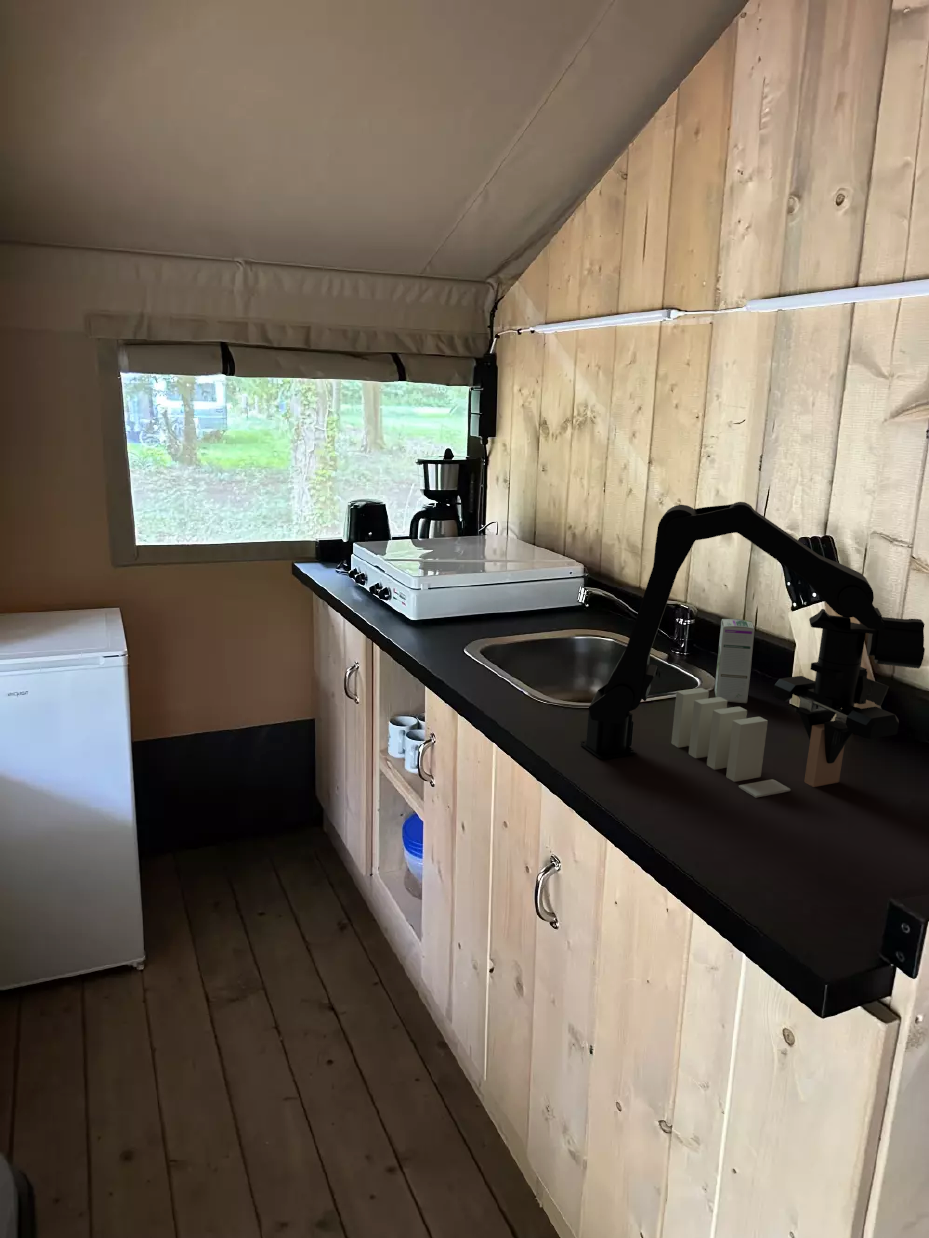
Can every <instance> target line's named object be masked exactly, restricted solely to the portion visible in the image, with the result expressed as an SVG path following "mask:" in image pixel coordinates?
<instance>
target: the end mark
mask: <svg viewBox="0 0 929 1238" xmlns="http://www.w3.org/2000/svg"><path fill="white" fill-rule="evenodd" d="M738 788H739V789H740V790H742V791H744V792H746V793H747V794H748V795H750V796H752V797H754V798H760V797H766V796H771V795H772V796H773V795H777V794H782V793H787V792H791V788H790V787H788V786H786V785H784V784H783V783H781V782H779V781H777V780H775V779H773V778H772V779H766V780H761V781H756V782H749V783H745V784H740V785H739V784H738Z"/></svg>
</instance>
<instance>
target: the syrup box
mask: <svg viewBox="0 0 929 1238" xmlns="http://www.w3.org/2000/svg"><path fill="white" fill-rule="evenodd" d="M719 632H720V633H719V642H718V654H717V663H716V674H715V683H714V694H715V697H721V698H723V699H725V700H727V703H739V704H740V703H741V704H747V703H748V698H749V697H748V695H749V690H750V689H749V688H750V681H751V680H750V679H751V671H752V670H751V669H752V661H753V660H752V659H753V649H754V638H755V632H756V631H755V627H754V625H753V621H752V620H747V619H738V618H737V619H736V618H722V619H721V621H720V631H719Z"/></svg>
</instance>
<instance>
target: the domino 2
mask: <svg viewBox="0 0 929 1238" xmlns="http://www.w3.org/2000/svg"><path fill="white" fill-rule="evenodd" d="M724 708H728V702H727V700H725V699H723V698H721V697H716V696H715V697H710V698H709V697H708V699H701V700H694V707H693V717H692V726H691V736H690V745H689V746H688V755H690V756H691V757H693V758H694V759H700V758H708V750H709V741H710V732H711V723H712V715H713V710H717V709H724Z"/></svg>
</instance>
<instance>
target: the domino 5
mask: <svg viewBox="0 0 929 1238" xmlns="http://www.w3.org/2000/svg"><path fill="white" fill-rule="evenodd" d="M844 751H845V746H844V747H843V748H842V750H841V752H840V753H839V755H838V757H837V758H836V760H835V762H834V763H830V764H829V763H827V761H826V754H825V732H824V724H818V725H812V731H811V738H810V739H809V747H808V751H807V752H808V754H807V760H806V767H805V773H804V774H805V775H804V781H803V782H804V783H805V784H807V785H809V786H810V787H813V788H816V787H821V786H822V787H823V786H827V785H831V784H837V783H839V782H840V776H841V771H842V770H841V769H842V763H843V757H844Z"/></svg>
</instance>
